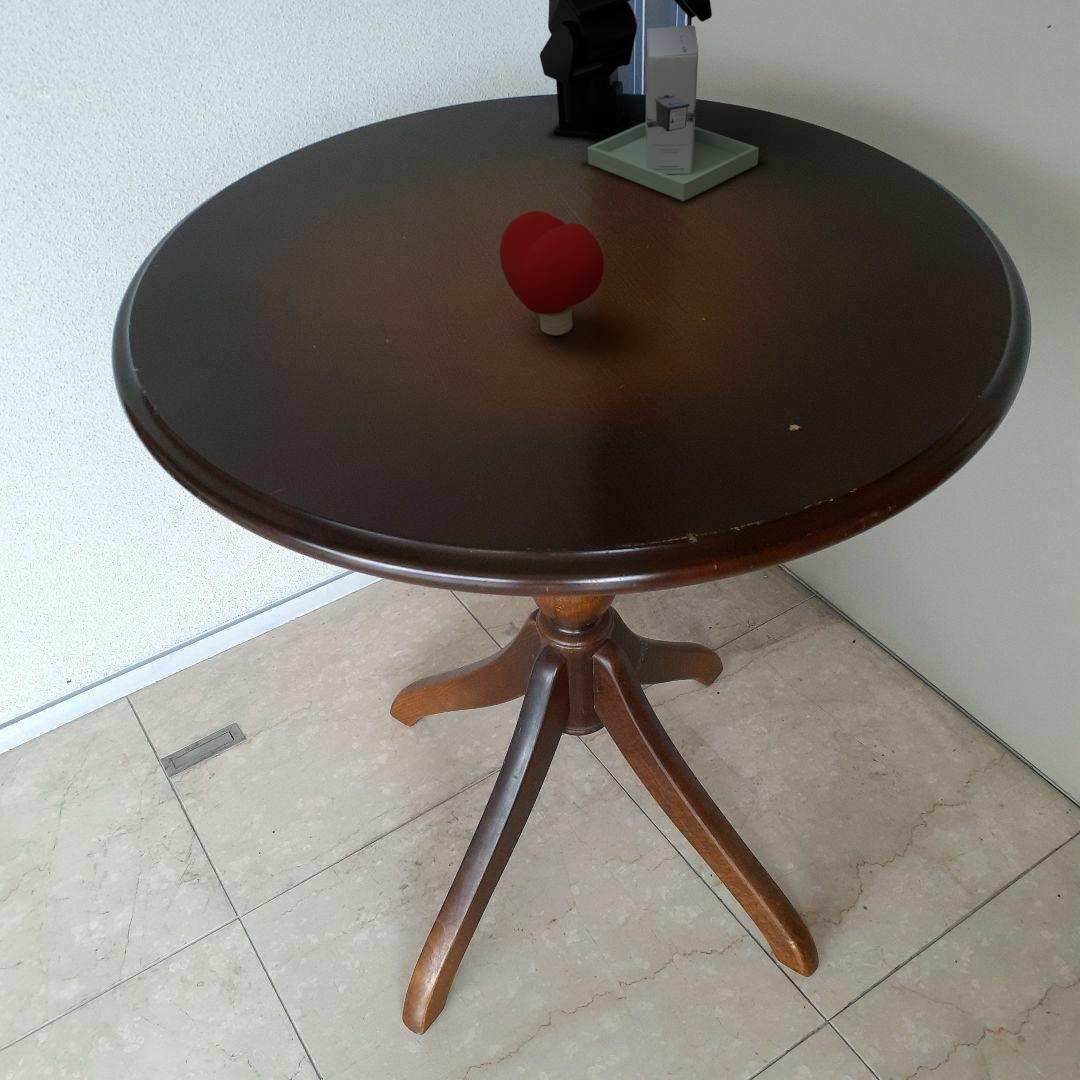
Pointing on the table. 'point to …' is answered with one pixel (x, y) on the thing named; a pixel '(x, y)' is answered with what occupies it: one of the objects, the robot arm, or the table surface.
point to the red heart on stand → (550, 267)
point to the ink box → (671, 98)
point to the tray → (710, 167)
